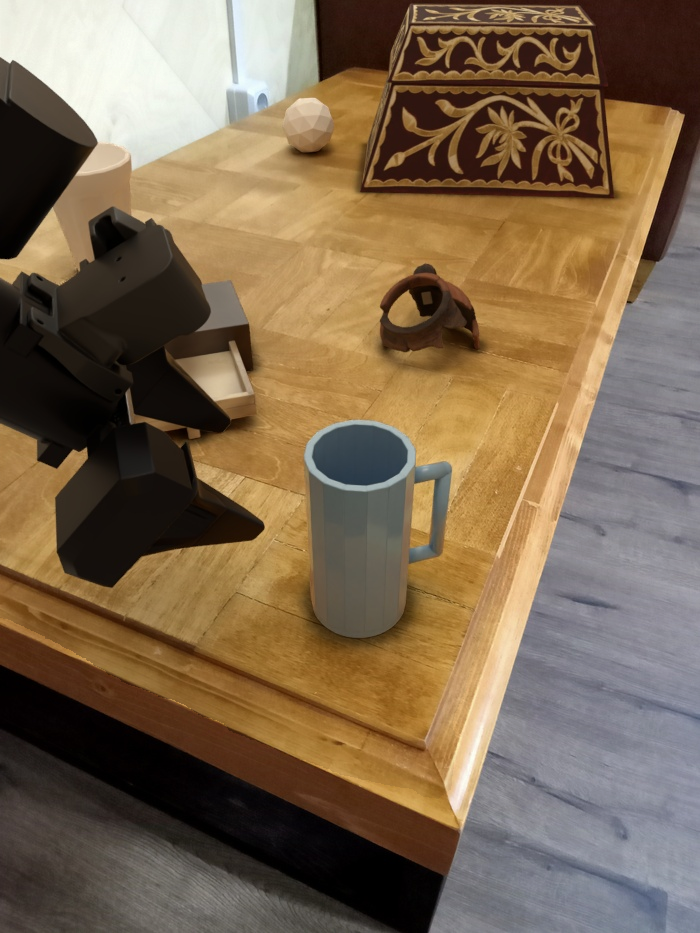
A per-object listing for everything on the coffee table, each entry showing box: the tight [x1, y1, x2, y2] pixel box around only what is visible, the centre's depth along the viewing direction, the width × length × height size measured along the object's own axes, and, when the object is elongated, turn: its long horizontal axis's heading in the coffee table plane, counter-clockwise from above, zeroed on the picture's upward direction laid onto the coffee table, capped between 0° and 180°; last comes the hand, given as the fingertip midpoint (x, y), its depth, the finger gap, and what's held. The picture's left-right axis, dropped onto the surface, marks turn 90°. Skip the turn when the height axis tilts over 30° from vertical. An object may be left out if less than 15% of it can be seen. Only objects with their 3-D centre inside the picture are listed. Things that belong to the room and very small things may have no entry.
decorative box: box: [359, 2, 615, 199], centre depth 108 cm, size 35×19×20 cm, turn 86°
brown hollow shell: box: [379, 263, 481, 353], centre depth 77 cm, size 12×10×8 cm
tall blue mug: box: [302, 419, 453, 639], centre depth 49 cm, size 9×6×13 cm
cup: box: [52, 141, 133, 272], centre depth 86 cm, size 10×10×13 cm
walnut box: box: [134, 279, 257, 440], centre depth 71 cm, size 14×18×5 cm
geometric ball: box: [282, 97, 335, 153], centre depth 119 cm, size 8×8×8 cm
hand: (241, 475), depth 43 cm, fingers open, 9 cm apart
